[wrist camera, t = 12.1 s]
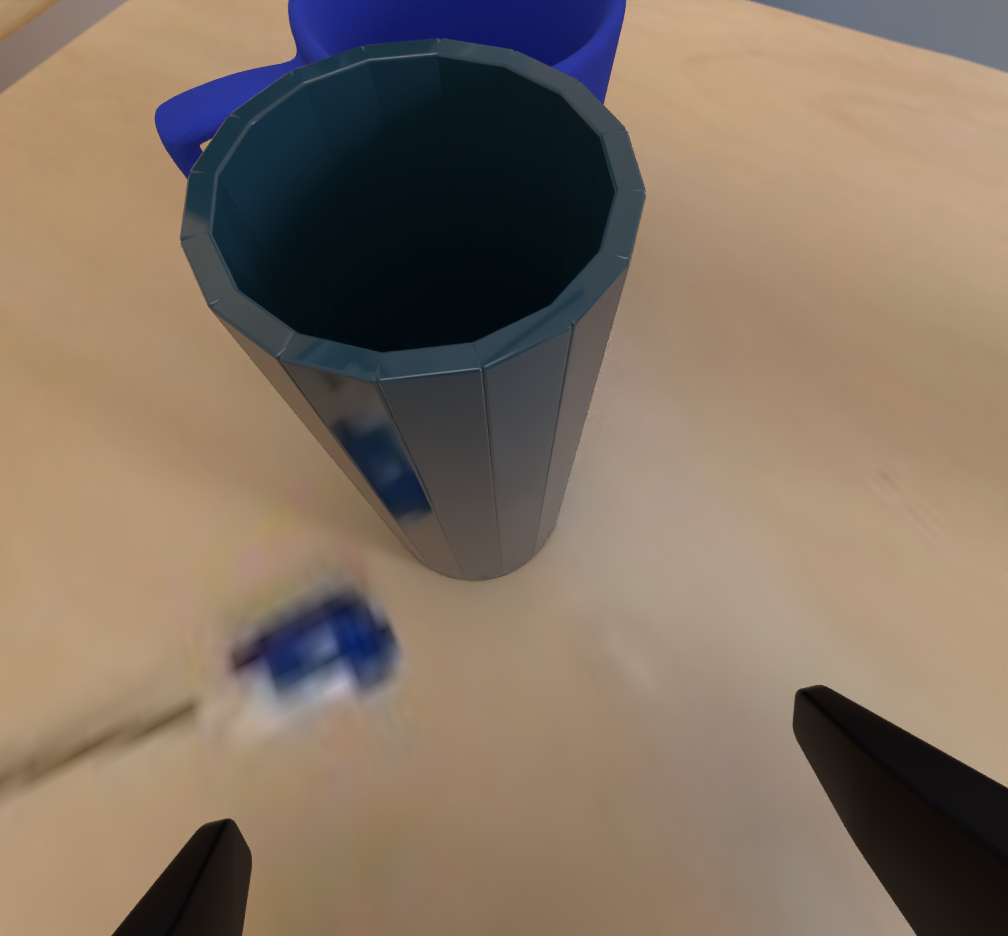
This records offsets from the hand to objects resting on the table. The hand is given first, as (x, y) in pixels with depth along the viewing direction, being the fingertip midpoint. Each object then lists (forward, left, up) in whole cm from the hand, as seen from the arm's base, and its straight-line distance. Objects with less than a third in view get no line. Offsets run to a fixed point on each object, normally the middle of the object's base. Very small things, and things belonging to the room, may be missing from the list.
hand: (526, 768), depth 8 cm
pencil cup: (+5, +5, -8) cm, 11 cm away
